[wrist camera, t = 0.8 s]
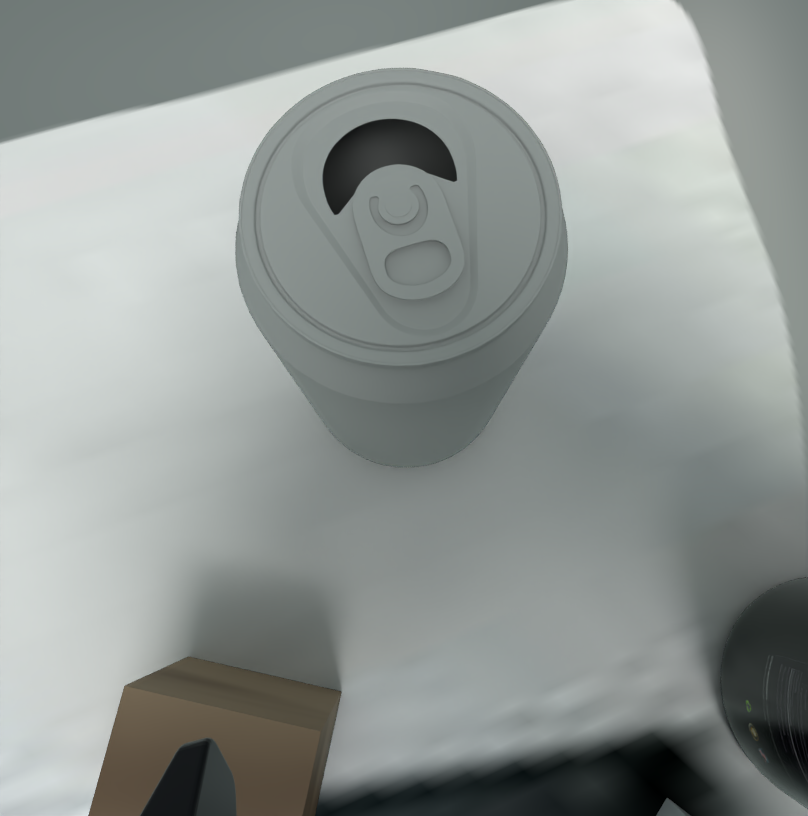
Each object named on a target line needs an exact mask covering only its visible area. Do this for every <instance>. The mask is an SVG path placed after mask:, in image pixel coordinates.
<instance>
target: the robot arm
mask: <svg viewBox="0 0 808 816" xmlns="http://www.w3.org/2000/svg"><path fill="white" fill-rule="evenodd" d="M140 816H237V812H236V790H235V782H234V778H233V774H232V772H231V770H230V768H229V766H228V764H227V762H226V760H225V759H224V757H223V755H222V753H221V751H220V749H219V747H218V745H217V744H216V742H215V741H214V740H213V739H212V738H203V739H199V740H196V741H192V742H188V743H185V744H183V745H182V746H180V747H179V749H178V750H177V751H176V753H175V754H174V756H173V758H172V760H171V761H170V763H169V765H168V767H167V768H166V770H165V772H164V774H163V775H162V777H161V779H160V781H159V782H158V784H157V786H156V788H155V789H154V791H153V793H152V795H151V797H150V798H149V800H148V802H147V804H146V805H145V807H144V809H143V811H142V812H141V814H140Z"/></svg>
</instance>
